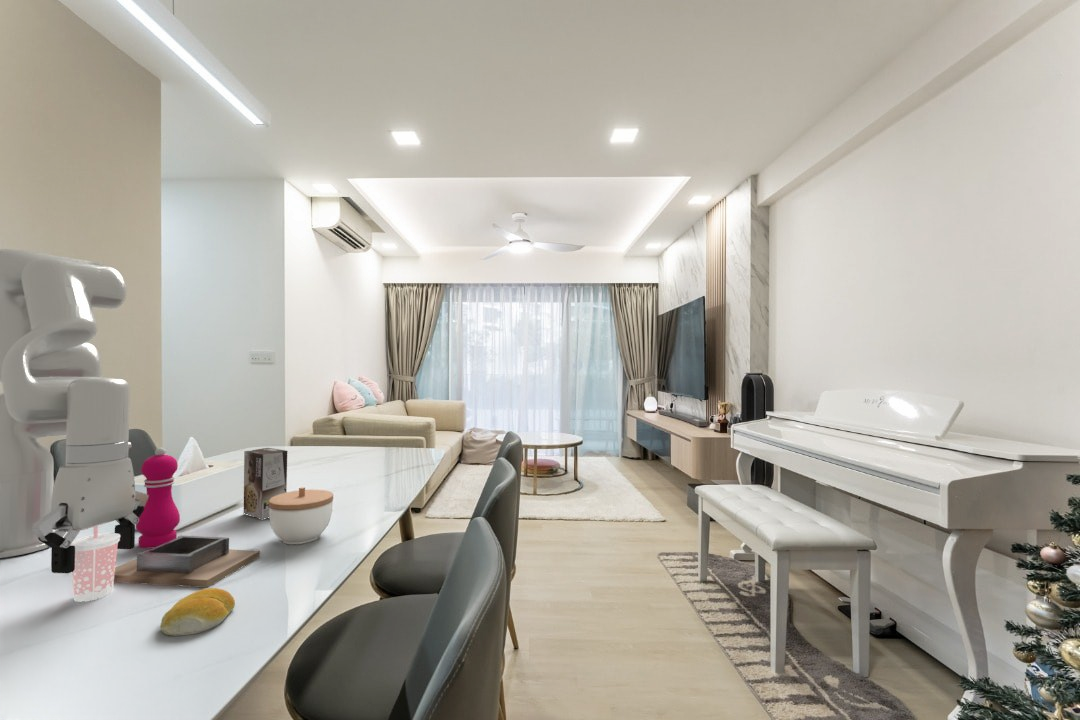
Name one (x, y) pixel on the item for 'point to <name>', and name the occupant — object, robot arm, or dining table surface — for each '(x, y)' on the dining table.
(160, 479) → the pepper mill
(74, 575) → the beverage cup
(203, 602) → the bread roll
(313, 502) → the lidded bowl
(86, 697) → the dining table surface
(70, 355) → the robot arm
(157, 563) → the cup holder
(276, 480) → the coffee box
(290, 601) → the dining table surface
